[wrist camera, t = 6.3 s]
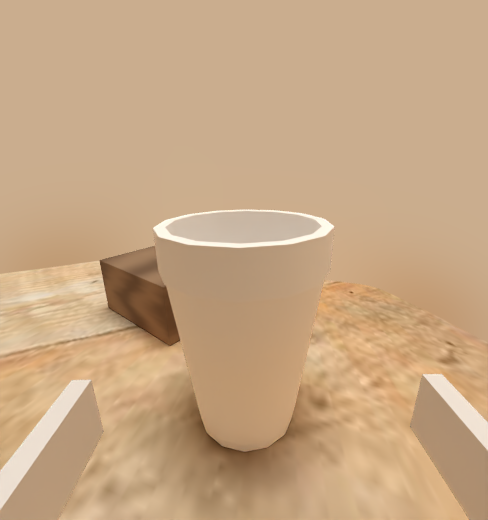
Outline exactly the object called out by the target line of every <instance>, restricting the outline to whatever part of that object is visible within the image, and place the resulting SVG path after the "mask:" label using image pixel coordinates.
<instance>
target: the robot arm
mask: <svg viewBox="0 0 488 520" xmlns="http://www.w3.org/2000/svg"><path fill="white" fill-rule="evenodd" d="M410 427H411V429H412V431H413V432H414V434H415V435H416V437H417V438H418V440H419V442H420V443H421V445H422V446H423V448H424V449H425V451H426V452H427V454H428V456H429V457H430V459H431V460H432V462H433V463H434V465H435V467H436V468H437V470H438V471H439V473H440V474H441V476H442V478H443V479H444V481H445V482H446V484H447V485H448V487H449V488H450V490H451V492H452V493H453V495H454V496H455V498H456V499H457V501H458V503H459V504H460V506H461V507H462V509H463V510H464V512H465V514H466V515H467V517H468V518H469V520H488V422H487V421H486V420H485V419H484V418H483V417H482V416H481V415H480V414H479V413H478V412H477V411H476V410H475V409H474V408H473V406H472V405H471V404H470V403H469V402H468V401H467V400H466V399H465V398H464V397H463V396H462V395H461V394H460V393H459V392H458V391H457V390H456V389H455V388H454V386H453V385H452V384H451V383H450V382H449V381H448V380H447V379H446V378H445V377H444V376H443V375H442V374H422V378H421V382H420V386H419V391H418V395H417V399H416V403H415V407H414V412H413V416H412V420H411V424H410ZM103 432H104V431H103V427H102V422H101V418H100V414H99V410H98V406H97V402H96V397H95V393H94V389H93V385H92V381H91V380H72V381H71V382H70V383H69V384H68V386H67V387H66V388H65V390H64V391H63V392H62V393H61V395H60V396H59V397H58V398H57V400H56V401H55V402H54V404H53V405H52V406H51V407H50V409H49V410H48V411H47V412H46V414H45V415H44V416H43V417H42V419H41V420H40V421H39V423H38V424H37V425H36V426H35V428H34V429H33V430H32V431H31V433H30V434H29V435H28V437H27V438H26V439H25V440H24V442H23V443H22V444H21V445H20V447H19V448H18V449H17V451H16V452H15V453H14V454H13V456H12V457H11V458H10V459H9V461H8V462H7V463H6V464H5V466H4V467H3V468H2V470H1V471H0V520H58V519H59V517H60V515H61V513H62V511H63V509H64V507H65V506H66V504H67V502H68V500H69V498H70V496H71V494H72V492H73V490H74V488H75V486H76V484H77V482H78V480H79V478H80V477H81V475H82V473H83V471H84V469H85V467H86V465H87V463H88V461H89V459H90V457H91V455H92V453H93V451H94V449H95V448H96V446H97V444H98V442H99V440H100V438H101V436H102V434H103Z"/></svg>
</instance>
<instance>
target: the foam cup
mask: <svg viewBox="0 0 488 520" xmlns="http://www.w3.org/2000/svg"><path fill="white" fill-rule="evenodd" d="M153 232H154V240H155V249H156V257H157V265H158V271H159V273H160V276H161V278H162V281H163V283H164V285H166V287H167V291H168V295H169V299H170V303H171V306H172V310H173V314H174V318H175V322H176V325H177V329H178V333H179V337H180V341H181V344H182V348H183V352H184V356H185V360H186V363H187V367H188V371H189V375H190V379H191V383H192V386H193V390H194V394H195V398H196V402H197V405H198V409H199V412H200V416H201V419H202V422H203V424H204V427H205V430H206V433H207V434H209V435H210V436H211V437H212V438H213V439H214V440H215V441H217V442H218V443H219V444H220V445H221V446H223V447H227V448H231V449H235V450H239V451H243V452H247V451H252V450H257V449H262V448H267V447H269V446H270V445H272V444H273V443H274V442H275V441H277V440H278V439H279V438H281V437H282V436H283V435H285V433H286V431H287V428H288V426H289V423H290V421H291V419H292V414H293V411H294V408H295V404H296V400H297V395H298V391H299V387H300V382H301V378H302V374H303V369H304V365H305V361H306V356H307V352H308V348H309V343H310V339H311V335H312V330H313V326H314V322H315V317H316V313H317V309H318V305H319V300H320V296H321V292H322V287H323V283H324V279H325V277H326V276H327V275H328V273H329V271H330V269H331V257H332V247H333V236H334V226H333V225H332V224H330V223H329V222H328V221H327V220H325V219H323V218H319V217H315V216H311V215H307V214H303V213H295V212H286V211H277V210H229V211H228V210H226V211H212V212H204V213H197V214H189V215H184V216H180V217H176V218H172V219H168V220H165V221H163V222H162V223H160V224H158V225H157V226H155V227H154V228H153Z"/></svg>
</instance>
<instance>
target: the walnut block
mask: <svg viewBox="0 0 488 520" xmlns="http://www.w3.org/2000/svg"><path fill="white" fill-rule="evenodd" d="M100 265H101V270H102V275H103V281H104V286H105V291H106V296H107V301H108V306H109V308H110V309H112V310H113V311H115V312H117V313H118V314H120V315H122V316H123V317H125V318H126V319H128V320H130V321H131V322H133V323H134V324H136V325H138V326H139V327H141V328H142V329H144V330H146V331H147V332H149V333H151V334H152V335H154V336H155V337H157V338H159V339H160V340H162V341H163V342H165V343H167V344H168V345H172V344H174V343H176V342H177V341H179V340H180V337H179V333H178V329H177V325H176V322H175V318H174V314H173V310H172V306H171V303H170V299H169V295H168V291H167V287H166V285H164V283H163V281H162V278H161V276H160V273H159V271H158V265H157V257H156V249H155V246H153V247H149V248H146V249H141V250H137V251H134V252H130V253H126V254H122V255H118V256H114V257H111V258H106V259H103V260H100Z"/></svg>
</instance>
